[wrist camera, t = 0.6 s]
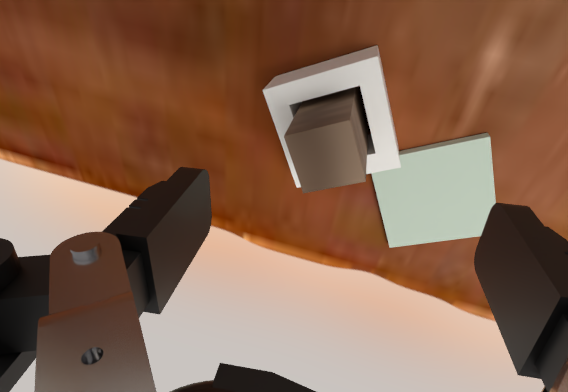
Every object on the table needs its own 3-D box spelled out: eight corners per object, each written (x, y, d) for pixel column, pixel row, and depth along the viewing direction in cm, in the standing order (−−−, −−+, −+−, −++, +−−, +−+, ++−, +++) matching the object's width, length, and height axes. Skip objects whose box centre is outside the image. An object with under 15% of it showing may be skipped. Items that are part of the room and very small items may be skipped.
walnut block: (356, 79, 29) (349, 119, 21) (368, 128, 30) (365, 181, 23) (306, 93, 30) (283, 136, 22) (320, 139, 32) (303, 193, 24)
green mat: (487, 132, 29) (490, 136, 28) (495, 228, 33) (498, 233, 32) (368, 157, 32) (368, 161, 31) (389, 242, 36) (389, 247, 35)
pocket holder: (377, 44, 27) (378, 56, 24) (398, 145, 31) (401, 167, 27) (275, 76, 30) (262, 90, 26) (304, 165, 33) (296, 187, 30)
